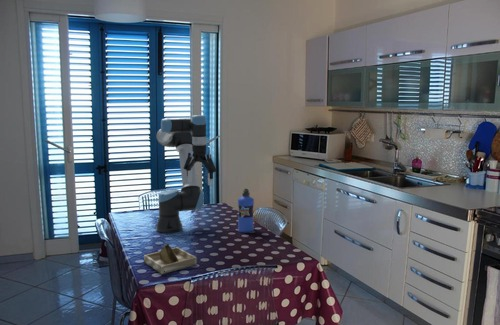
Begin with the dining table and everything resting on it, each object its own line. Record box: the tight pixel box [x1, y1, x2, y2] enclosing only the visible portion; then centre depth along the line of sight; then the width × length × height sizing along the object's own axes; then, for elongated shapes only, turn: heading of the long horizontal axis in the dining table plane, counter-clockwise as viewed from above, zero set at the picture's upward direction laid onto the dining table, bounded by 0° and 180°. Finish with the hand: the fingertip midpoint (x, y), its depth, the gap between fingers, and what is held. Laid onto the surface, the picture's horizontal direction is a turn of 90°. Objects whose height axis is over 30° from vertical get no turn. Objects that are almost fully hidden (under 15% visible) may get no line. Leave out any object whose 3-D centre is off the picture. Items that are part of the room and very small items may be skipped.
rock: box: [160, 243, 178, 264], centre depth 199 cm, size 11×9×10 cm
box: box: [143, 246, 198, 275], centre depth 199 cm, size 18×18×4 cm
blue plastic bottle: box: [237, 188, 255, 234], centre depth 248 cm, size 9×9×25 cm
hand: (199, 183), depth 227 cm, fingers open, 13 cm apart
